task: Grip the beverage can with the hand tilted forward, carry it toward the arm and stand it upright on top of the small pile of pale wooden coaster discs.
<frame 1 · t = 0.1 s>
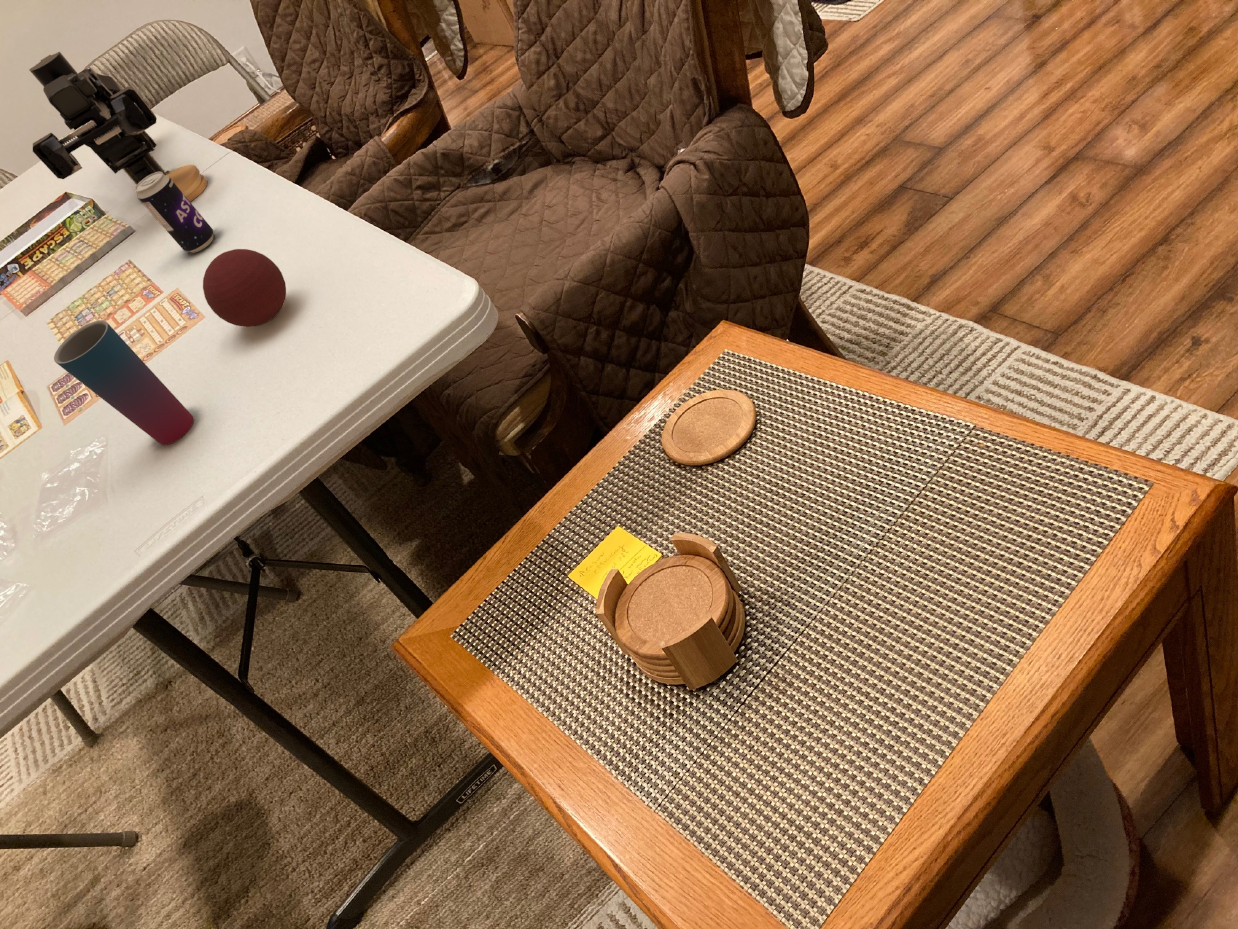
hand: (98, 147, 137), 17 cm above the table, tool horizontal, fingers open, 9 cm apart
coaster pile: (183, 195, 158), on the table
decorative ball: (270, 317, 117), on the table
beverage can: (202, 245, 141), on the table
cup: (177, 430, 107), on the table
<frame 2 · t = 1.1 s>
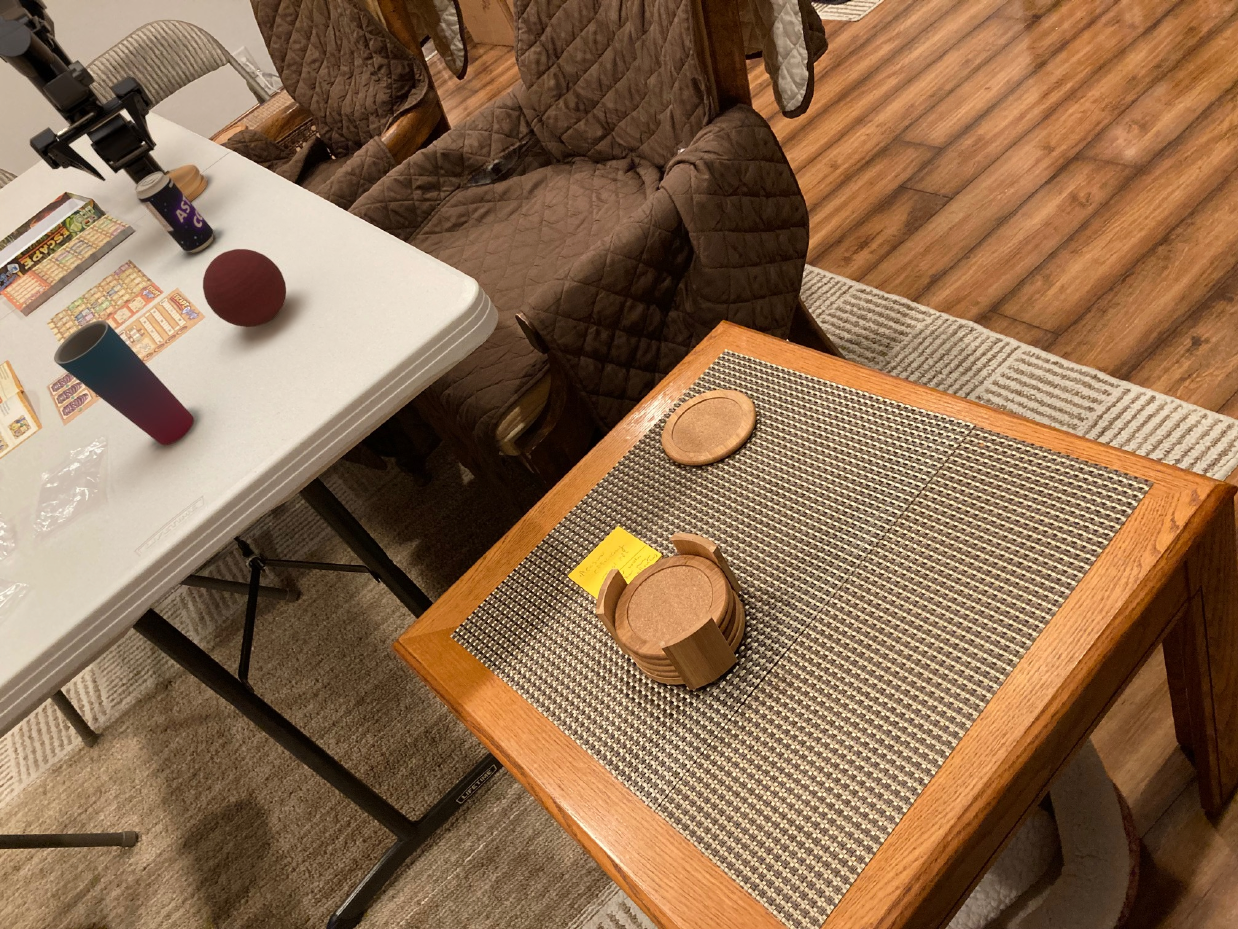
hand: (129, 162, 136), 14 cm above the table, tool tilted 45°, fingers open, 9 cm apart
nothing on the table moved.
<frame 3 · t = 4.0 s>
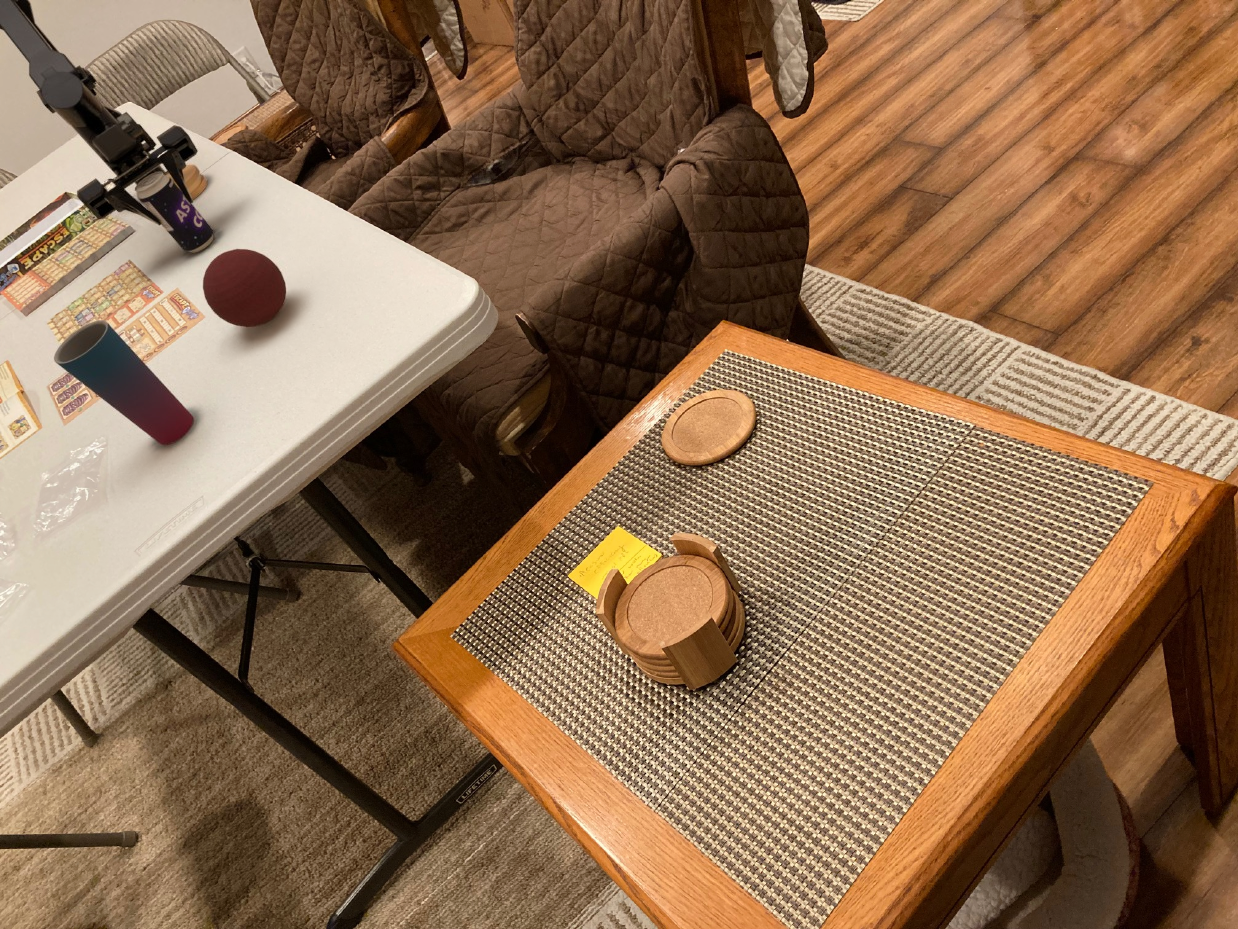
hand: (175, 212, 135), 7 cm above the table, tool tilted 45°, fingers closed on beverage can, 5 cm apart
beverage can: (202, 245, 141), on the table, touching gripper
everything else where it was.
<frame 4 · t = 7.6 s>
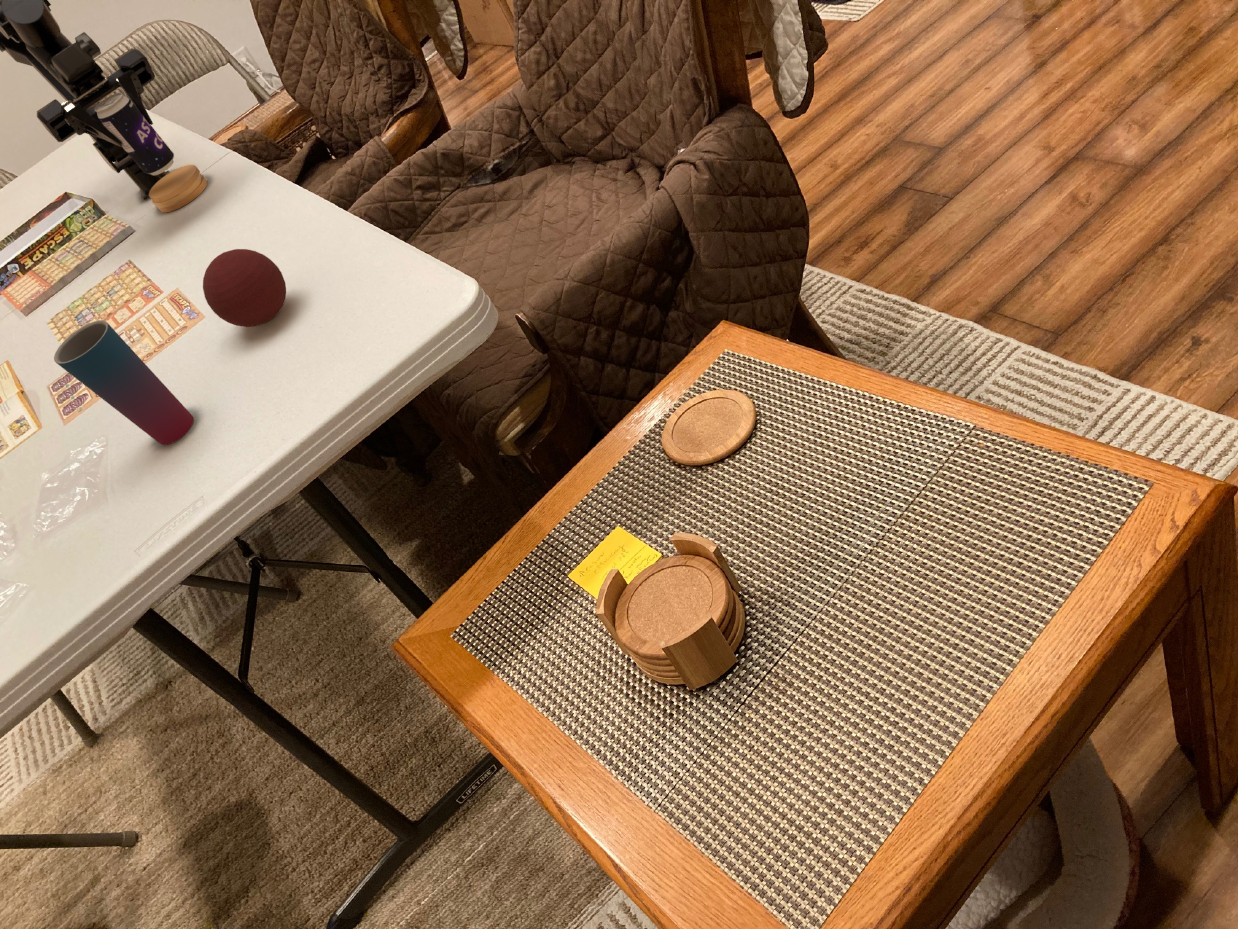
hand: (136, 133, 138), 15 cm above the table, tool tilted 45°, fingers closed on beverage can, 5 cm apart
beverage can: (163, 168, 144), point 9 cm above the table, touching gripper
everything else where it was.
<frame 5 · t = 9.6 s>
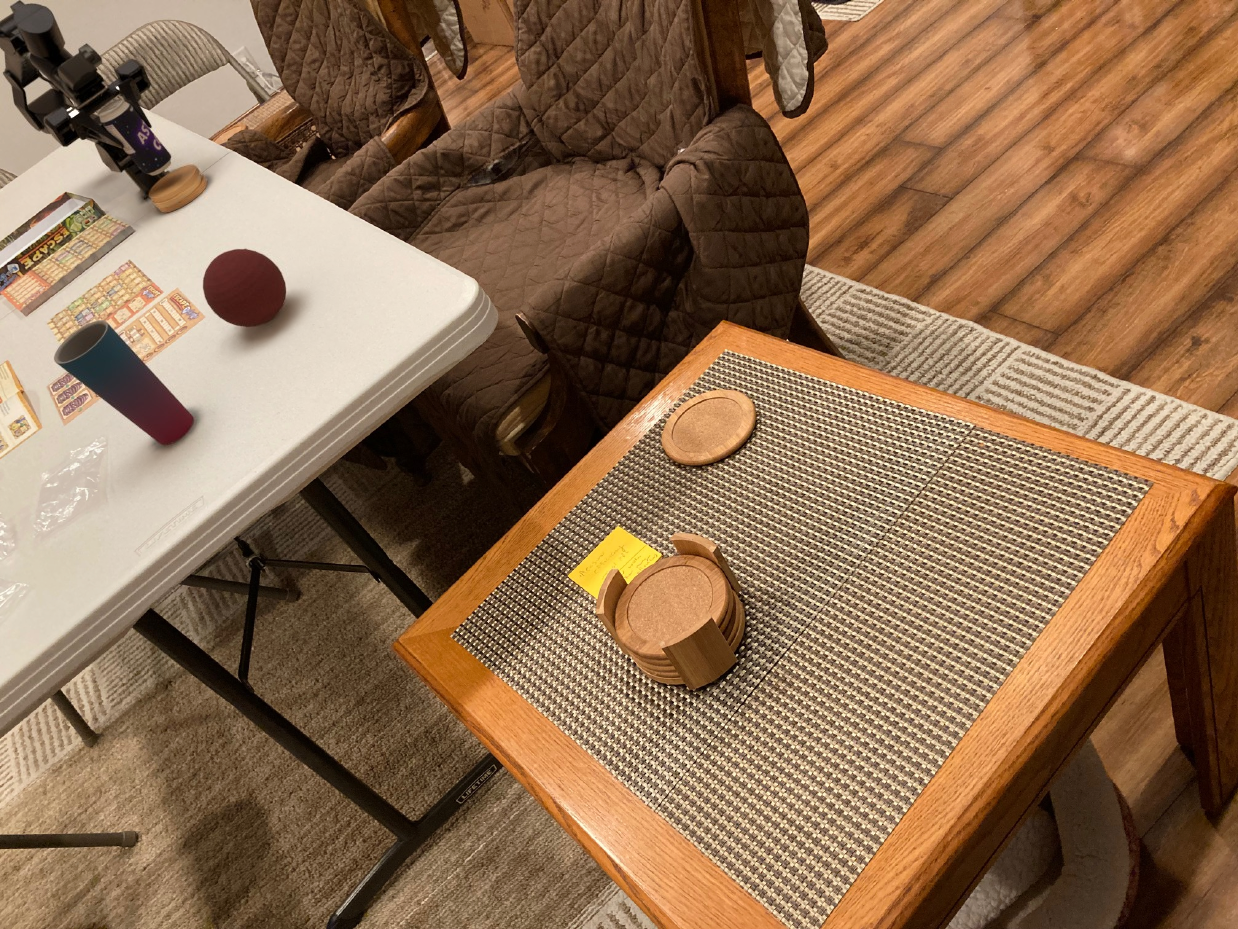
hand: (136, 136, 149), 12 cm above the table, tool tilted 45°, fingers closed on beverage can, 5 cm apart
beverage can: (161, 169, 154), point 6 cm above the table, touching gripper
everything else where it was.
when the fingers open (10 cm above the table, at t = 11.1 s): beverage can stays where it is, resting on coaster pile.
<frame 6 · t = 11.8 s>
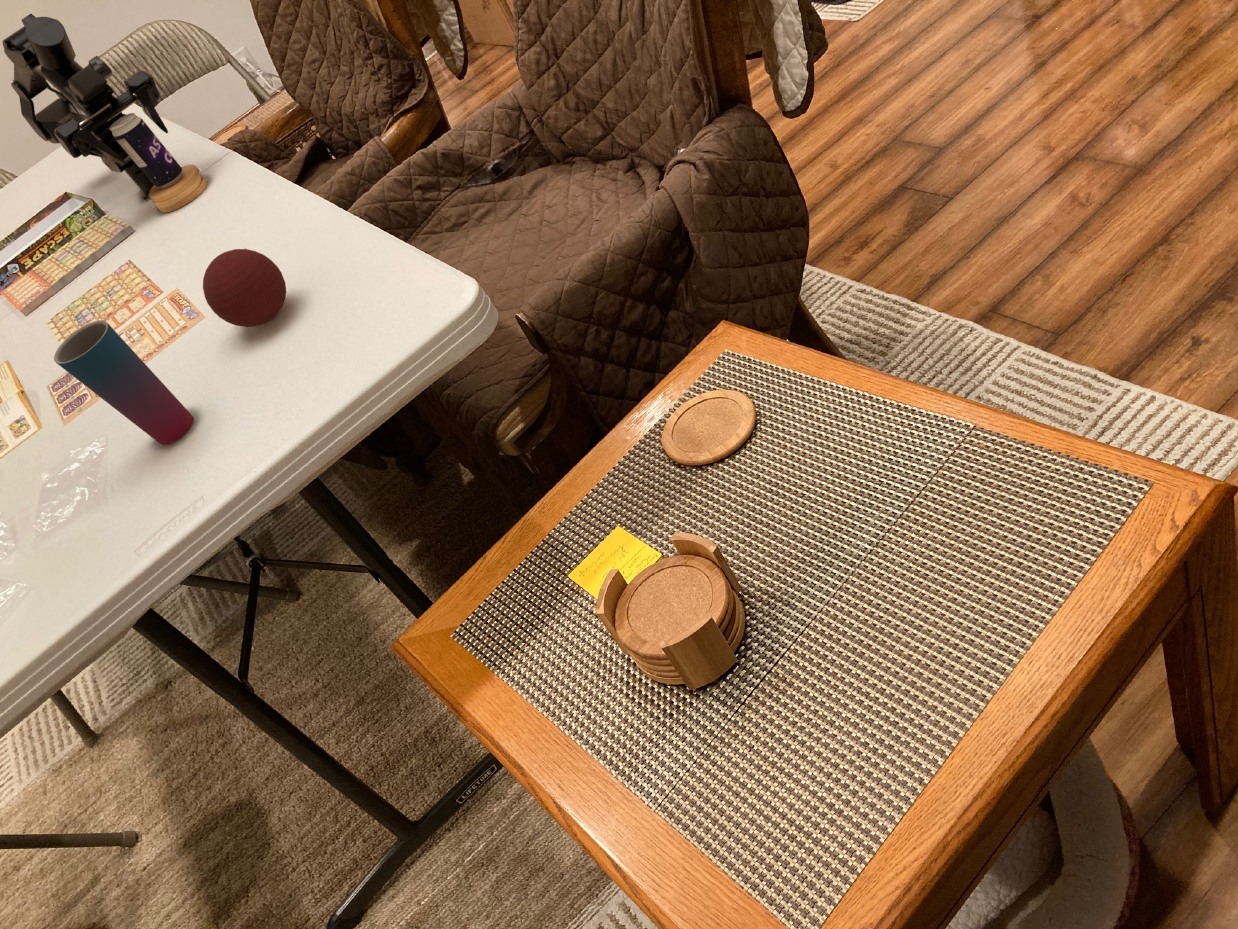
hand: (146, 147, 150), 10 cm above the table, tool tilted 45°, fingers open, 9 cm apart
beverage can: (172, 181, 156), point 3 cm above the table, touching coaster pile
everything else where it was.
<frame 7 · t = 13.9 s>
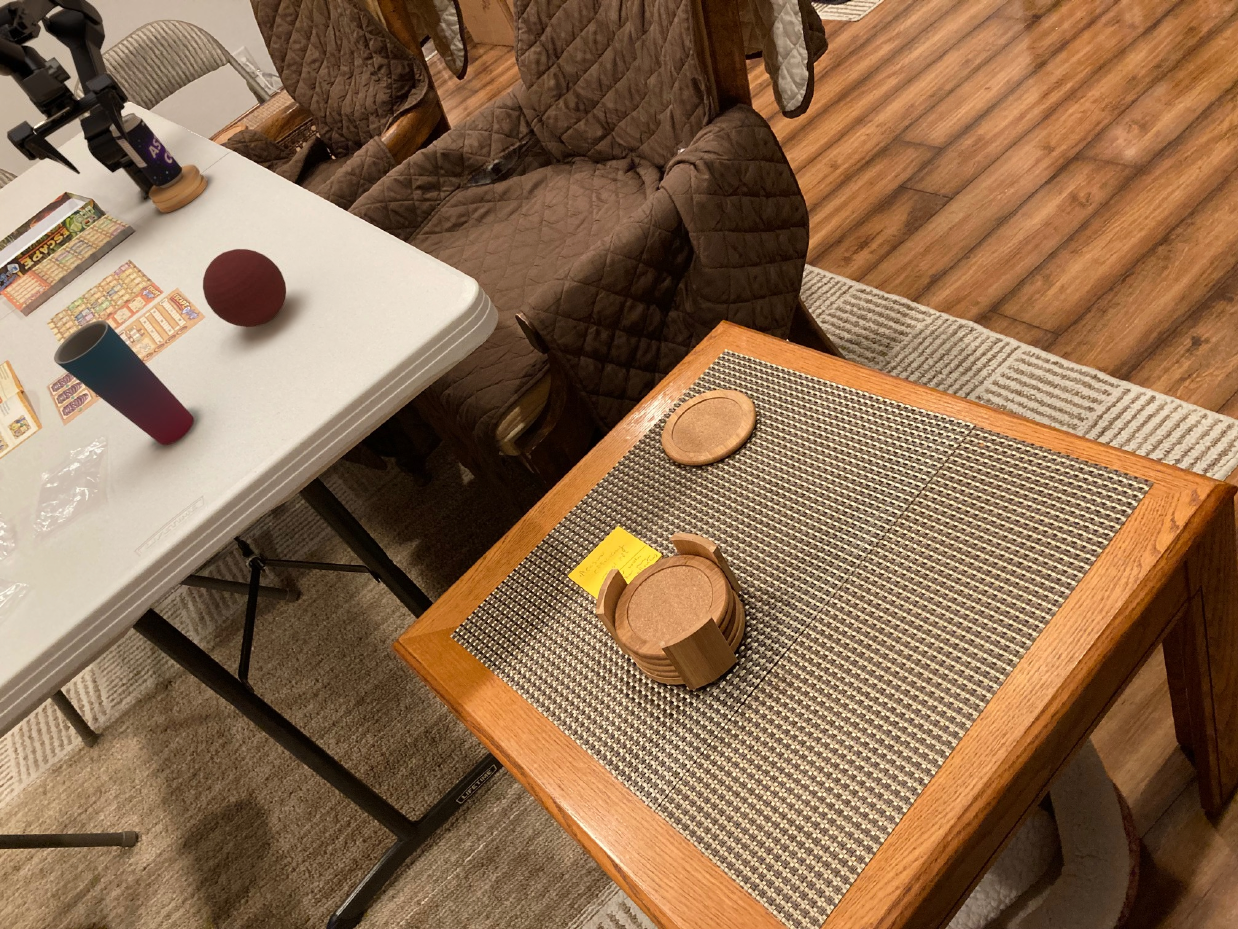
hand: (103, 156, 141), 14 cm above the table, tool tilted 45°, fingers open, 9 cm apart
nothing on the table moved.
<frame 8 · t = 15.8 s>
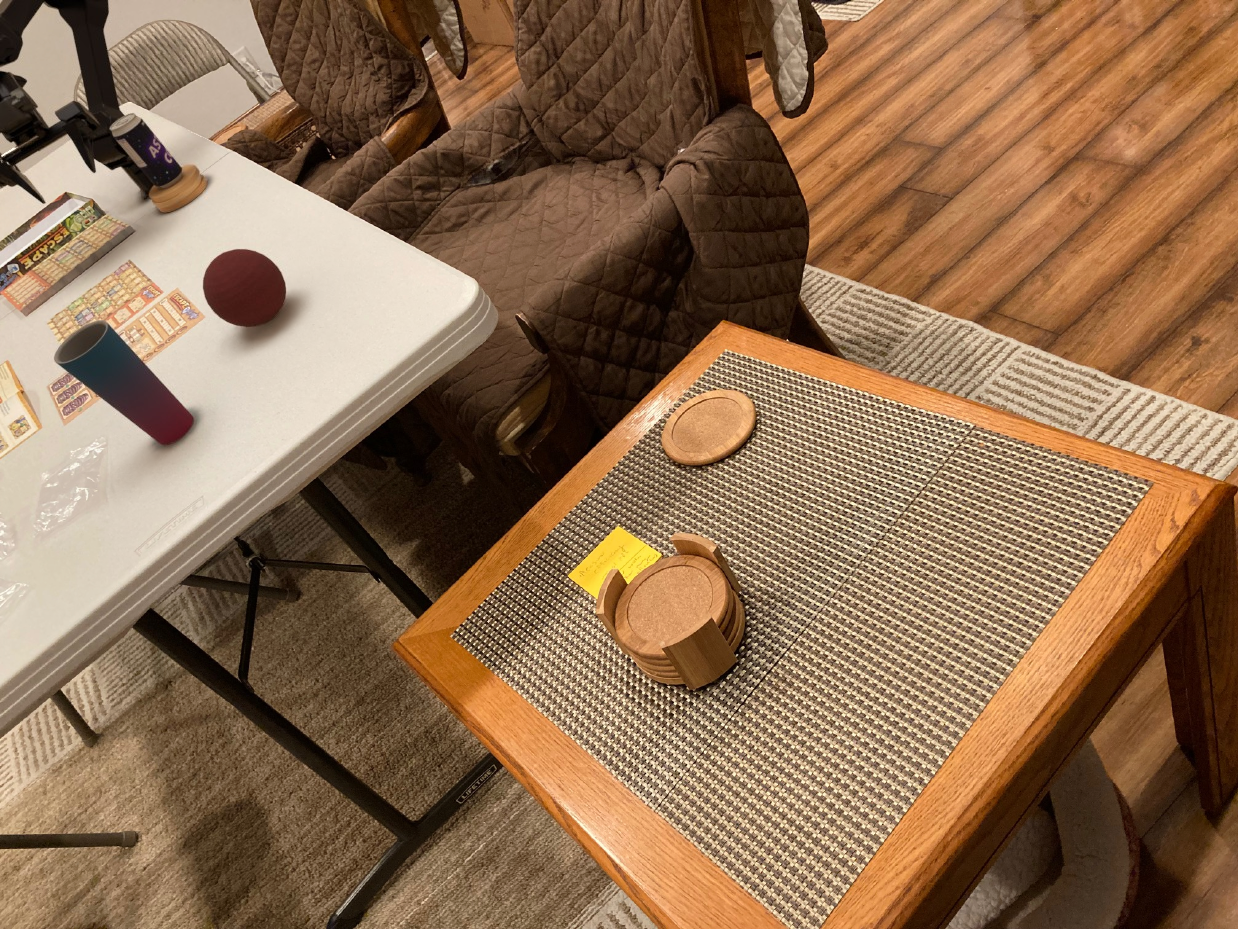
hand: (68, 187, 139), 14 cm above the table, tool tilted 45°, fingers open, 9 cm apart
nothing on the table moved.
at the end: beverage can 0.1 cm off-centre on the coaster pile, point 2.8 cm above the coaster pile's base; beverage can tilted 0°; the gripper is holding nothing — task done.
